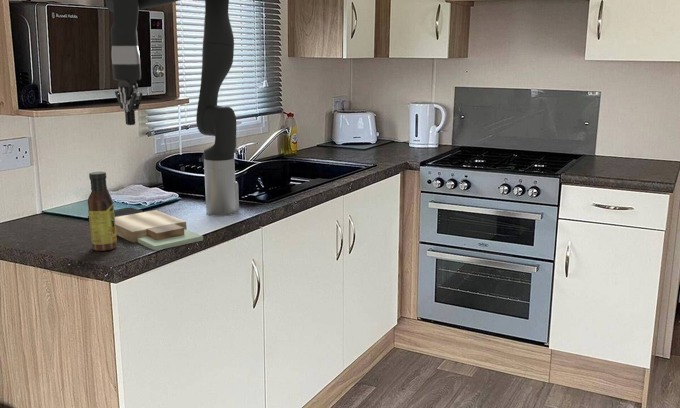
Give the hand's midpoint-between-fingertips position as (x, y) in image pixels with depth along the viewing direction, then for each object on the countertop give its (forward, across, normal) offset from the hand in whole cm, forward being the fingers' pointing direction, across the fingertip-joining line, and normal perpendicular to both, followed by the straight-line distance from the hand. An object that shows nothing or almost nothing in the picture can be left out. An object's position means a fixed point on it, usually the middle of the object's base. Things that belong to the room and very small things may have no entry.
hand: (130, 124), depth 195 cm
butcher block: (+29, -9, +2) cm, 30 cm away
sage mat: (+29, -24, +2) cm, 37 cm away
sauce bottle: (+29, -18, +18) cm, 39 cm away
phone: (+30, +13, +1) cm, 32 cm away
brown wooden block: (+28, -21, +2) cm, 35 cm away
